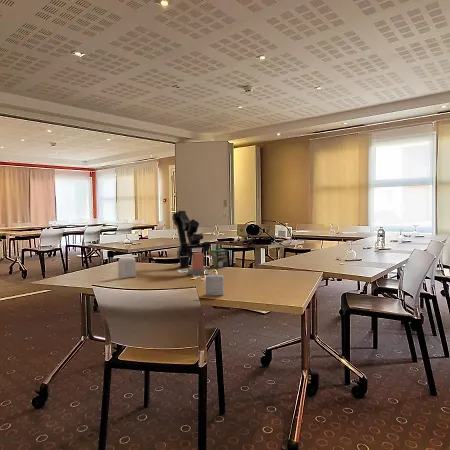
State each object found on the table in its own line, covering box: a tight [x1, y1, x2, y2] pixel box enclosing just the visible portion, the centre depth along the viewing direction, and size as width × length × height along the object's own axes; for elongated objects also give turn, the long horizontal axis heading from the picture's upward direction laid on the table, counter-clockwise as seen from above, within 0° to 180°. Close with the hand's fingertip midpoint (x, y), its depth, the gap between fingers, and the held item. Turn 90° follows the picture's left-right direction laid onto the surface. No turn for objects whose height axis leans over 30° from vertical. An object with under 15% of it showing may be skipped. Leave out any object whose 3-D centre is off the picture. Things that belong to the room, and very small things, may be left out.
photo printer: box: [117, 256, 137, 280], centre depth 226 cm, size 10×4×12 cm, turn 123°
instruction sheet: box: [176, 269, 188, 274], centre depth 244 cm, size 10×14×1 cm
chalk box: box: [208, 244, 229, 269], centre depth 258 cm, size 9×9×15 cm
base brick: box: [187, 267, 206, 277], centre depth 233 cm, size 10×10×2 cm
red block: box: [191, 252, 205, 271], centre depth 232 cm, size 4×6×10 cm
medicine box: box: [205, 274, 225, 297], centre depth 176 cm, size 8×4×9 cm, turn 86°
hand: (198, 257), depth 231 cm, fingers open, 9 cm apart
